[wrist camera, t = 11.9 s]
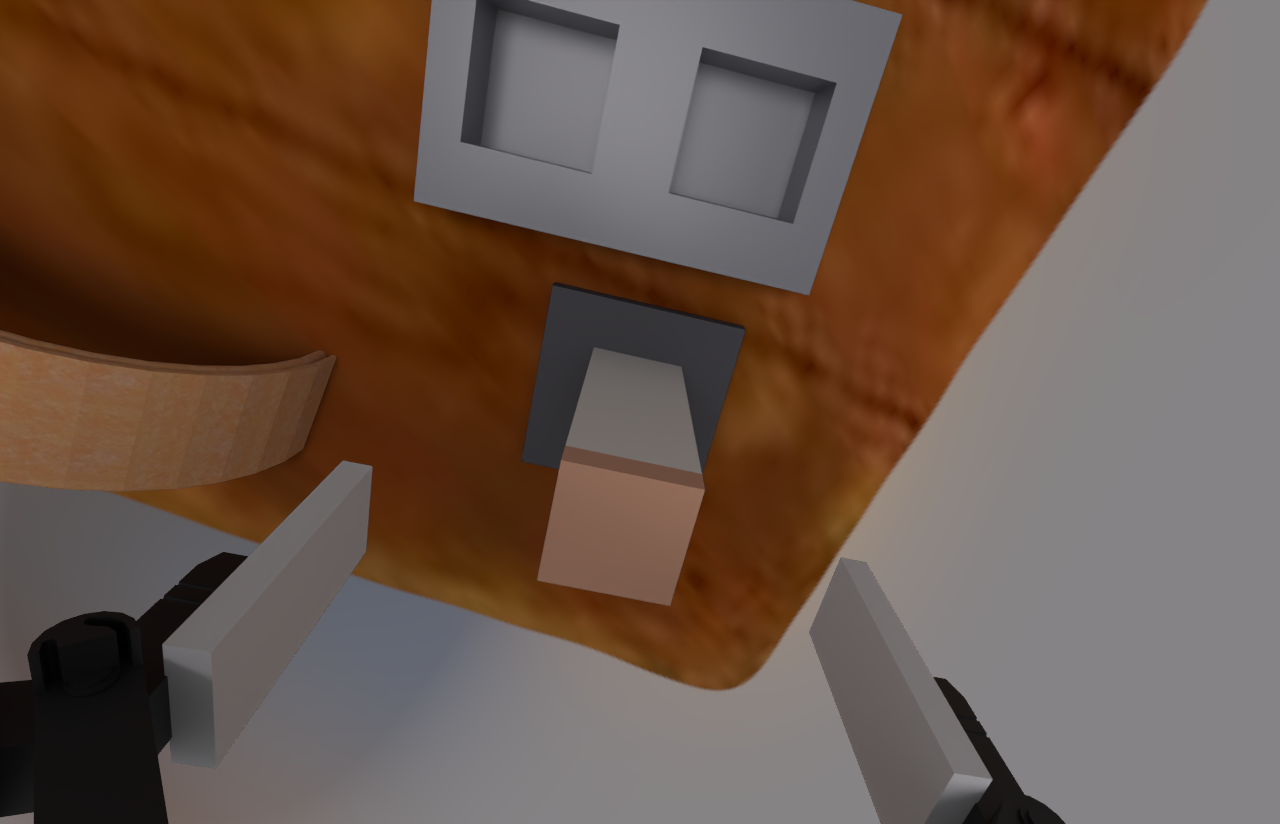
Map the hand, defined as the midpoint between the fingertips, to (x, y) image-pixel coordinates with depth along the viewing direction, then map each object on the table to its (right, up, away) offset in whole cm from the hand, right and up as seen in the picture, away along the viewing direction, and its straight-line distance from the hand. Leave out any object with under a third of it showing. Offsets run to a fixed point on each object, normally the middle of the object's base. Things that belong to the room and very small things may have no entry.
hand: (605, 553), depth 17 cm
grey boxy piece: (+1, +16, +9) cm, 18 cm away
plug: (0, +5, +12) cm, 13 cm away
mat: (0, +5, +13) cm, 14 cm away
